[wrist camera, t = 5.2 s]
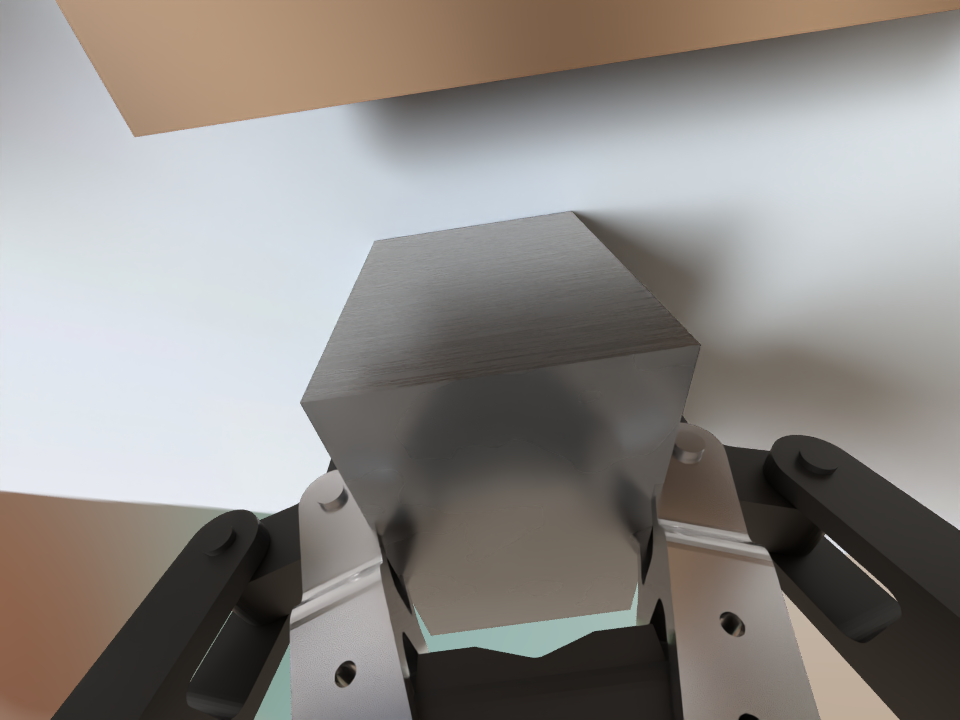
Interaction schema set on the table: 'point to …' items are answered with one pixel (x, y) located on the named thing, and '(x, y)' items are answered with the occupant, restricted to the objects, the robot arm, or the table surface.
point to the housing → (504, 417)
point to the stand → (400, 45)
